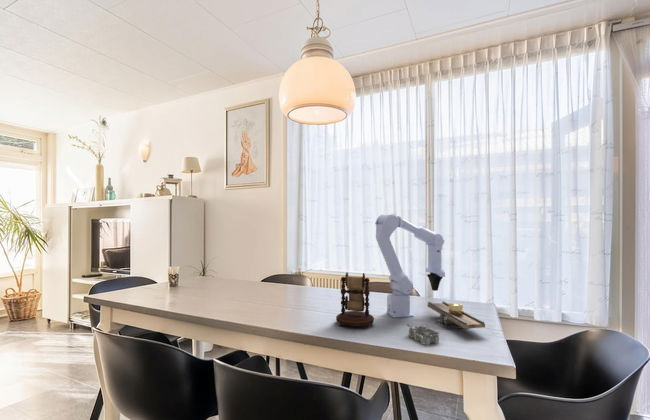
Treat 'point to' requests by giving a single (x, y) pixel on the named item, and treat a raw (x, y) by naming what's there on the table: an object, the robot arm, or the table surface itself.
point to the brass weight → (456, 309)
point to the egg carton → (424, 334)
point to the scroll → (355, 302)
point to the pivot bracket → (446, 323)
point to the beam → (463, 320)
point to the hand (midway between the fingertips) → (434, 290)
